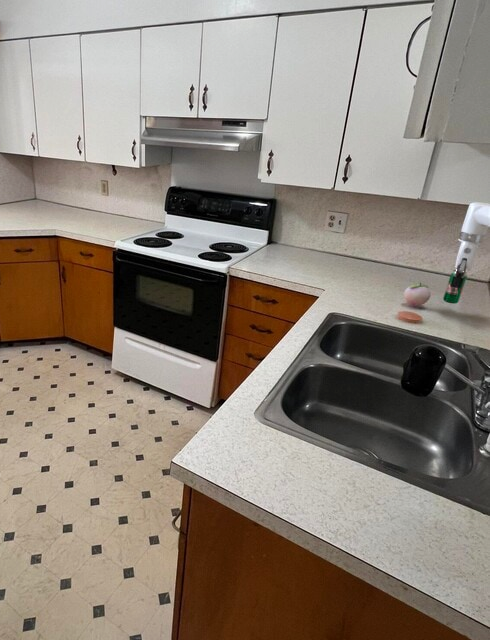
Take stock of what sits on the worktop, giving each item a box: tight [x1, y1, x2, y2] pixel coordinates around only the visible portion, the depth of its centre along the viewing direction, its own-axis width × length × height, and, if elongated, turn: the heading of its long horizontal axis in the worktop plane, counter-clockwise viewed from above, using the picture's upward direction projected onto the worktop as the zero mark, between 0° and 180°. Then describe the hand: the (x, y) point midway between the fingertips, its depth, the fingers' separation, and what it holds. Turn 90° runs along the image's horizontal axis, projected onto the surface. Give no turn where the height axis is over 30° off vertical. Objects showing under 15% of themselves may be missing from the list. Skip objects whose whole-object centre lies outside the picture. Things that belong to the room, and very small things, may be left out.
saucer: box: [396, 310, 423, 324], centre depth 157 cm, size 8×8×1 cm
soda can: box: [442, 269, 468, 304], centre depth 160 cm, size 5×5×12 cm
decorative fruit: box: [403, 282, 432, 307], centre depth 168 cm, size 9×8×10 cm
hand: (455, 284), depth 159 cm, fingers closed on soda can, 5 cm apart
